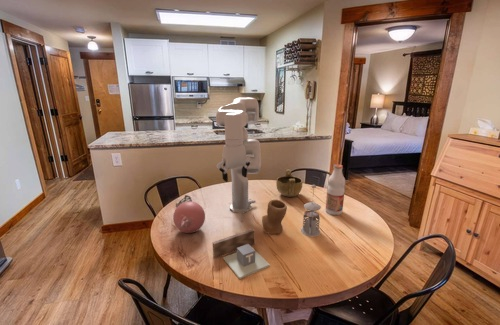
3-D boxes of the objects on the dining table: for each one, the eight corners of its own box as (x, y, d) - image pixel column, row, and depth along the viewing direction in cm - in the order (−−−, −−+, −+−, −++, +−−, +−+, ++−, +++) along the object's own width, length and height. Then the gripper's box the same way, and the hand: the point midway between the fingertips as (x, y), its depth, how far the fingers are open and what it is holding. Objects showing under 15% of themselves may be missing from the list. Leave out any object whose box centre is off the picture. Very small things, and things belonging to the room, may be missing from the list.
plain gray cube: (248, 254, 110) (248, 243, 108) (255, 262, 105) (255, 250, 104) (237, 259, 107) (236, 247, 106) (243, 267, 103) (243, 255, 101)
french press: (321, 228, 132) (325, 182, 125) (319, 240, 121) (323, 191, 114) (302, 224, 135) (304, 180, 128) (298, 236, 125) (301, 188, 117)
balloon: (165, 244, 119) (162, 214, 115) (181, 222, 138) (178, 195, 134) (197, 246, 118) (195, 215, 113) (209, 223, 137) (207, 197, 132)
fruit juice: (323, 207, 154) (327, 162, 146) (339, 208, 153) (344, 163, 145) (327, 215, 145) (331, 168, 137) (344, 215, 144) (349, 168, 136)
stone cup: (287, 236, 125) (288, 208, 121) (262, 235, 125) (262, 207, 121) (283, 220, 140) (284, 194, 135) (261, 220, 140) (262, 194, 136)
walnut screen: (252, 242, 120) (252, 228, 118) (254, 243, 119) (254, 230, 117) (213, 256, 110) (212, 242, 108) (214, 258, 109) (214, 244, 107)
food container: (187, 221, 139) (186, 204, 136) (177, 220, 140) (175, 203, 137) (196, 211, 150) (195, 195, 147) (186, 210, 151) (185, 194, 149)
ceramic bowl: (304, 202, 161) (305, 180, 157) (277, 202, 161) (277, 179, 157) (299, 188, 182) (300, 168, 178) (275, 188, 183) (275, 168, 178)
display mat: (251, 248, 116) (251, 246, 115) (269, 266, 104) (269, 264, 104) (223, 258, 109) (223, 257, 108) (239, 279, 97) (239, 277, 97)
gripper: (246, 137, 118) (247, 172, 124) (212, 142, 110) (214, 179, 115) (255, 141, 112) (255, 177, 118) (219, 146, 104) (221, 185, 109)
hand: (235, 178), depth 117 cm, fingers open, 9 cm apart
